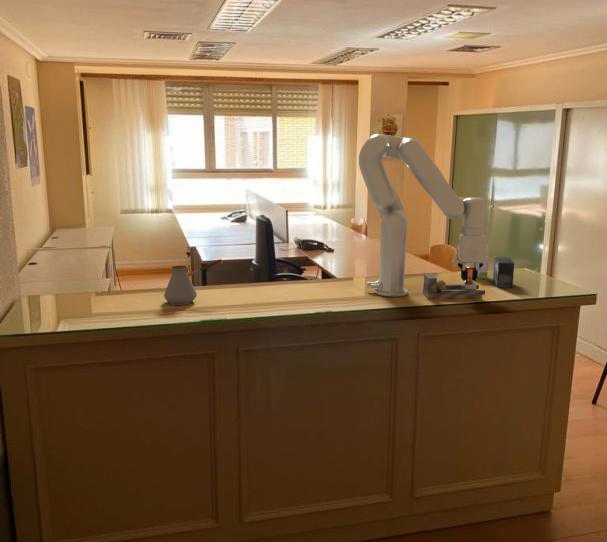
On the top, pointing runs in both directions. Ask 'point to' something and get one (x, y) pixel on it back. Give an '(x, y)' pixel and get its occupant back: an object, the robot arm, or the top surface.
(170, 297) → the coffee pot
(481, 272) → the ink box
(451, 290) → the press bench
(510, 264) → the small box
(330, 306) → the top surface
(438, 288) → the walnut
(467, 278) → the ram
